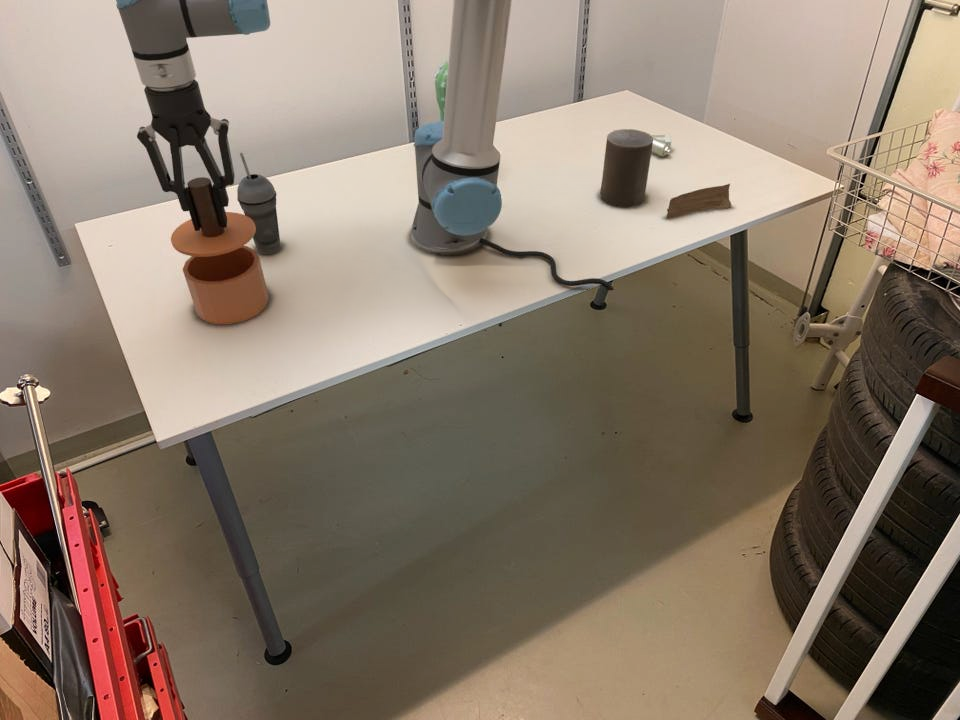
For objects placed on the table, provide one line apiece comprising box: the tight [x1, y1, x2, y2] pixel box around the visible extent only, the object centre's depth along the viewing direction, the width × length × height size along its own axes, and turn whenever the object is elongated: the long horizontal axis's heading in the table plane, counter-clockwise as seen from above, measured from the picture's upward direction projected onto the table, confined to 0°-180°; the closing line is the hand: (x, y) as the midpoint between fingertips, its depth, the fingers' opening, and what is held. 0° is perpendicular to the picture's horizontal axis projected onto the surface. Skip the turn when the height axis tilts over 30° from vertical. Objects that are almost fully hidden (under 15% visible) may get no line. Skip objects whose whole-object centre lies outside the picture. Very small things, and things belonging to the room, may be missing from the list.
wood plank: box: [666, 183, 732, 219], centre depth 153 cm, size 15×2×5 cm, turn 112°
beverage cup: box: [236, 152, 281, 255], centre depth 138 cm, size 7×7×20 cm
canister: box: [182, 245, 269, 325], centre depth 127 cm, size 13×13×8 cm
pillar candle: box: [599, 128, 653, 208], centre depth 155 cm, size 10×10×15 cm
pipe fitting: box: [650, 134, 672, 158], centre depth 176 cm, size 8×4×7 cm
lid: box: [170, 176, 256, 257], centre depth 118 cm, size 14×14×10 cm
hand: (211, 224), depth 120 cm, fingers closed on lid, 4 cm apart
